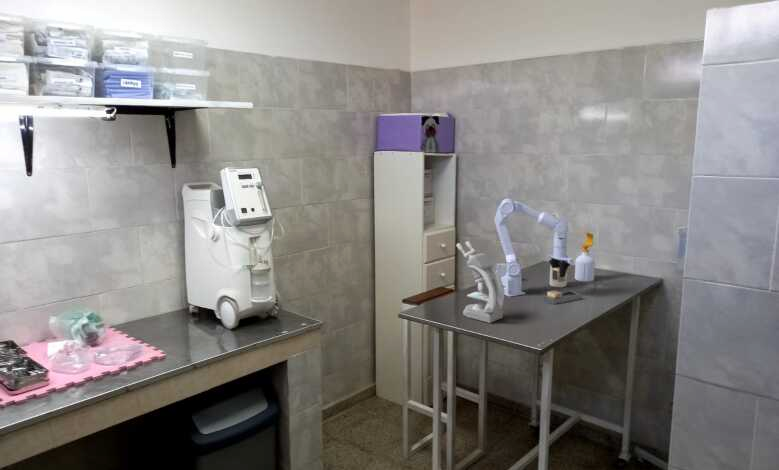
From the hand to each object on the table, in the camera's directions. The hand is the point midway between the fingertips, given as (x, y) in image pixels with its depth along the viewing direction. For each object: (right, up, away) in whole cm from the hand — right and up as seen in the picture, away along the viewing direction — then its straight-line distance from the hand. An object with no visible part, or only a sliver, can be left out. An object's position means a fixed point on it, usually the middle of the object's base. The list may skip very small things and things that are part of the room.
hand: (559, 276), depth 253 cm
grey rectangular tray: (0, -10, -6) cm, 12 cm away
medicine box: (-19, -5, +28) cm, 34 cm away
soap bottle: (+21, -4, +27) cm, 35 cm away
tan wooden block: (0, -2, +1) cm, 2 cm away
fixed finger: (-4, -10, -8) cm, 13 cm away
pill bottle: (+5, -6, +17) cm, 19 cm away
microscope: (-41, -15, -26) cm, 50 cm away
